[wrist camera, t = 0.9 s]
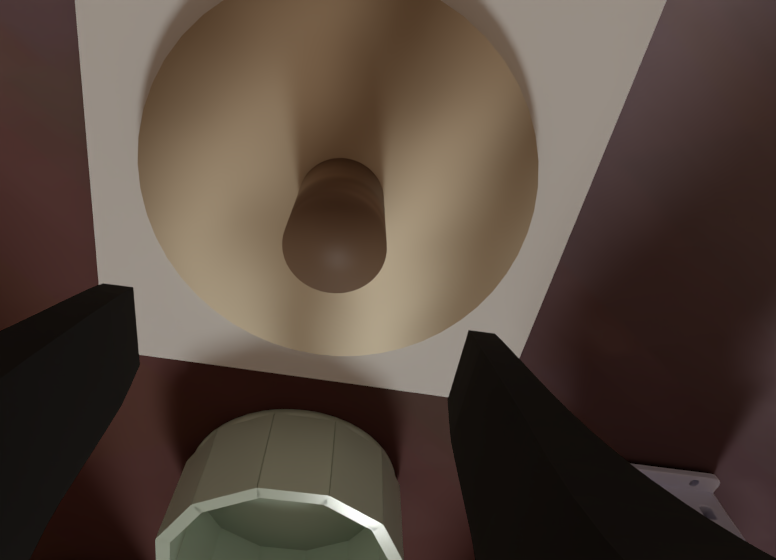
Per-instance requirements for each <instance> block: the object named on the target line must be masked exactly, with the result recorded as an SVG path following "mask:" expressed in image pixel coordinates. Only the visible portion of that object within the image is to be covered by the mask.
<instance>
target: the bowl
mask: <svg viewBox="0 0 776 560" xmlns="http://www.w3.org/2000/svg"><path fill="white" fill-rule="evenodd" d="M155 544H156V560H404V556H403V538H402V520H401V502H400V485H399V483H398V481H397V479H396V477H395V472H394V468H393V465H392V463H391V460H390V459H389V457H388V455H387V453H386V452H385V451H384V449H383V448H382V447H381V446H380V444H379V443H378V442H377V441H375V440H374V439H373V438H372V437H371V436H370V435H369V434H367V433H366V432H364V431H363V430H361V429H360V428H358V427H356V426H355V425H353V424H351V423H349V422H347V421H344V420H342V419H339V418H337V417H334V416H330V415H327V414H323V413H319V412H314V411H308V410H298V409H274V410H266V411H259V412H255V413H250V414H247V415H244V416H241V417H238V418H235V419H233V420H231V421H229V422H227V423H225V424H223V425H221V426H220V427H218V428H217V429H215V430H214V431H212V432H211V433H210V434H209V435H208V436H207V437H206V438H205V439H204V440H203V441H202V442H201V444H200V445H199V446H198V448H197V449H196V451H195V453H194V454H193V455H192V456H191V457H190V458H189V459H188V460H187V462H186V464H185V467H184V469H183V472H182V474H181V477H180V479H179V482H178V484H177V487H176V489H175V492H174V494H173V497H172V499H171V502H170V504H169V507H168V509H167V512H166V514H165V517H164V519H163V522H162V524H161V527H160V529H159V532H158V534H157V537H156V539H155Z"/></svg>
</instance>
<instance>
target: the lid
mask: <svg viewBox="0 0 776 560" xmlns="http://www.w3.org/2000/svg"><path fill="white" fill-rule="evenodd" d="M538 163H539V161H538V152H537V143H536V135H535V131H534V127H533V124H532V120H531V116H530V112H529V109H528V106H527V104H526V101H525V99H524V97H523V94H522V92H521V89H520V87H519V85H518V83H517V81H516V79H515V78H514V76H513V74H512V73H511V71H510V69H509V67H508V66H507V64H506V62H505V61H504V59H503V58H502V57H501V55H500V54H499V53H498V52H497V50H496V49H495V48H494V47H493V45H492V44H491V43H490V42H489V40H488V39H487V38H486V37H485V36H484V35H483V34H482V33H481V32H480V31H479V30H478V29H477V28H476V27H475V26H473V25H472V24H471V23H470V22H469V21H468V20H467V19H466V18H465V17H464V16H463V15H461V14H460V13H458V12H457V11H455V10H454V9H452V8H451V7H450V6H448V5H447V4H445V3H444V2H442V1H441V0H223V1H222V2H220V3H219V4H217V5H216V6H215V7H213V8H212V9H210V10H209V11H208V12H206V13H205V14H203V15H202V16H201V17H200V18H199V19H198V20H197V21H196V22H195V23H194V24H193V25H192V26H191V27H190V28H189V29H188V30H187V31H186V32H185V33H184V34H183V35H182V36H181V38H180V39H179V40H178V42H177V43H176V44H175V46H174V47H173V48H172V50H171V51H170V52H169V54H168V55H167V57H166V58H165V60H164V61H163V63H162V65H161V67H160V69H159V71H158V73H157V75H156V77H155V79H154V81H153V83H152V85H151V88H150V91H149V94H148V97H147V100H146V103H145V106H144V109H143V113H142V119H141V125H140V130H139V136H138V172H139V181H140V189H141V193H142V197H143V201H144V205H145V209H146V213H147V216H148V218H149V221H150V224H151V226H152V229H153V231H154V234H155V236H156V238H157V240H158V242H159V244H160V246H161V247H162V249H163V251H164V253H165V255H166V257H167V258H168V260H169V261H170V263H171V264H172V265H173V267H174V268H175V270H176V271H177V272H178V274H179V275H180V277H181V278H182V279H183V280H184V281H185V282H186V284H187V285H188V286H189V287H190V288H191V289H192V290H193V291H194V292H195V294H196V295H197V296H199V297H200V298H201V299H202V300H203V301H204V302H205V303H206V304H208V305H209V306H210V307H211V308H212V309H213V310H214V311H216V312H217V313H219V314H220V315H221V316H223V317H224V318H226V319H227V320H228V321H230V322H231V323H233V324H234V325H236V326H238V327H240V328H242V329H243V330H245V331H247V332H249V333H251V334H252V335H255V336H257V337H259V338H262V339H264V340H266V341H269V342H271V343H274V344H277V345H280V346H283V347H287V348H290V349H293V350H297V351H303V352H308V353H313V354H320V355H331V356H362V355H370V354H378V353H384V352H388V351H393V350H397V349H401V348H404V347H407V346H410V345H413V344H416V343H419V342H422V341H424V340H426V339H428V338H430V337H432V336H434V335H437V334H439V333H441V332H443V331H444V330H446V329H447V328H449V327H451V326H452V325H454V324H455V323H457V322H459V321H460V320H461V319H463V318H464V317H465V316H467V315H468V314H469V313H470V312H472V311H473V310H474V309H475V308H477V307H478V306H479V305H480V304H481V303H482V302H483V301H484V300H485V299H486V298H487V297H488V296H489V295H490V294H491V293H492V292H493V290H494V289H495V288H496V287H497V285H498V284H499V283H500V282H501V280H502V279H503V278H504V276H505V275H506V274H507V272H508V271H509V269H510V267H511V266H512V264H513V262H514V261H515V259H516V257H517V256H518V254H519V251H520V249H521V247H522V245H523V242H524V240H525V238H526V236H527V233H528V230H529V227H530V223H531V220H532V216H533V213H534V209H535V203H536V196H537V190H538Z"/></svg>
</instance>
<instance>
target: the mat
mask: <svg viewBox="0 0 776 560" xmlns="http://www.w3.org/2000/svg"><path fill="white" fill-rule="evenodd" d="M222 1H223V0H75V7H76V19H77V31H78V43H79V55H80V67H81V78H82V90H83V102H84V114H85V126H86V138H87V150H88V161H89V173H90V185H91V197H92V209H93V221H94V233H95V245H96V256H97V268H98V280H99V285H100V284H102V283H104V284H112V285H120V286H128V287H133V290H134V302H135V314H136V326H137V338H138V350H139V355H146V356H153V357H160V358H167V359H175V360H182V361H189V362H197V363H204V364H211V365H218V366H226V367H233V368H240V369H247V370H255V371H262V372H269V373H277V374H284V375H291V376H298V377H306V378H313V379H320V380H327V381H335V382H342V383H349V384H357V385H364V386H371V387H378V388H386V389H393V390H400V391H407V392H415V393H422V394H429V395H437V396H444V397H449V393H450V390H451V387H452V383H453V380H454V377H455V374H456V370H457V367H458V364H459V360H460V357H461V354H462V350H463V347H464V344H465V340H466V337H467V334H468V330H471V331H479V332H487V333H495V334H496V335H497V336H498V337H499V338H500V339H501V340H502V341H503V342H504V343H505V344H506V345H507V346H508V347H509V348H510V349H511V350H512V352H513V353H514V354H515V355H516V356H517V357H518V358H520V355H521V353H522V351H523V348H524V346H525V343H526V341H527V338H528V336H529V333H530V331H531V329H532V326H533V324H534V321H535V319H536V316H537V314H538V312H539V309H540V307H541V304H542V302H543V299H544V297H545V295H546V292H547V290H548V287H549V285H550V282H551V280H552V278H553V275H554V273H555V270H556V268H557V265H558V263H559V261H560V258H561V256H562V253H563V251H564V248H565V246H566V244H567V241H568V239H569V236H570V234H571V231H572V229H573V227H574V224H575V222H576V219H577V217H578V214H579V212H580V210H581V207H582V205H583V202H584V200H585V197H586V195H587V192H588V190H589V188H590V185H591V183H592V180H593V178H594V175H595V173H596V171H597V168H598V166H599V163H600V161H601V158H602V156H603V154H604V151H605V149H606V146H607V144H608V141H609V139H610V137H611V134H612V132H613V129H614V127H615V124H616V122H617V120H618V117H619V115H620V112H621V110H622V107H623V105H624V103H625V100H626V98H627V95H628V93H629V90H630V88H631V86H632V83H633V81H634V78H635V76H636V73H637V71H638V69H639V66H640V64H641V61H642V59H643V56H644V54H645V51H646V49H647V47H648V44H649V42H650V39H651V37H652V34H653V32H654V30H655V27H656V25H657V22H658V20H659V17H660V15H661V13H662V10H663V8H664V5H665V3H666V0H441V1H442V2H444V3H445V4H447V5H448V6H450V7H451V8H452V9H454V10H455V11H457V12H458V13H460V14H461V15H463V16H464V17H465V18H466V19H467V20H468V21H469V22H470V23H471V24H472V25H473V26H475V27H476V28H477V29H478V30H479V31H480V32H481V33H482V34H483V35H484V36H485V37H486V38H487V39H488V40H489V42H490V43H491V44H492V45H493V47H494V48H495V49H496V50H497V52H498V53H499V54H500V55H501V57H502V58H503V59H504V61H505V62H506V64H507V66H508V67H509V69H510V71H511V73H512V74H513V76H514V78H515V79H516V81H517V83H518V85H519V87H520V89H521V92H522V94H523V97H524V99H525V101H526V104H527V106H528V109H529V112H530V116H531V120H532V124H533V127H534V131H535V135H536V143H537V152H538V161H539V163H538V190H537V196H536V203H535V209H534V213H533V216H532V220H531V223H530V227H529V230H528V233H527V236H526V238H525V240H524V242H523V245H522V247H521V249H520V251H519V254H518V256H517V257H516V259H515V261H514V262H513V264H512V266H511V267H510V269H509V271H508V272H507V274H506V275H505V276H504V278H503V279H502V280H501V282H500V283H499V284H498V285H497V287H496V288H495V289H494V290H493V292H492V293H491V294H490V295H489V296H488V297H487V298H486V299H485V300H484V301H483V302H482V303H481V304H480V305H479V306H478V307H477V308H475V309H474V310H473V311H472V312H470V313H469V314H468V315H467V316H465V317H464V318H463V319H461V320H460V321H459V322H457V323H455V324H454V325H452V326H451V327H449V328H447V329H446V330H444V331H443V332H441V333H439V334H437V335H434V336H432V337H430V338H428V339H426V340H424V341H422V342H419V343H416V344H413V345H410V346H407V347H404V348H401V349H397V350H393V351H388V352H384V353H378V354H370V355H362V356H331V355H320V354H313V353H308V352H303V351H297V350H293V349H290V348H287V347H283V346H280V345H277V344H274V343H271V342H269V341H266V340H264V339H262V338H259V337H257V336H255V335H252V334H251V333H249V332H247V331H245V330H243V329H242V328H240V327H238V326H236V325H234V324H233V323H231V322H230V321H228V320H227V319H226V318H224V317H223V316H221V315H220V314H219V313H217V312H216V311H214V310H213V309H212V308H211V307H210V306H209V305H208V304H206V303H205V302H204V301H203V300H202V299H201V298H200V297H199V296H197V295H196V294H195V292H194V291H193V290H192V289H191V288H190V287H189V286H188V285H187V284H186V282H185V281H184V280H183V279H182V278H181V277H180V275H179V274H178V272H177V271H176V270H175V268H174V267H173V265H172V264H171V263H170V261H169V260H168V258H167V257H166V255H165V253H164V251H163V249H162V247H161V246H160V244H159V242H158V240H157V238H156V236H155V234H154V231H153V229H152V226H151V224H150V221H149V218H148V216H147V213H146V209H145V205H144V201H143V197H142V193H141V189H140V181H139V172H138V136H139V130H140V125H141V119H142V113H143V109H144V106H145V103H146V100H147V97H148V94H149V91H150V88H151V85H152V83H153V81H154V79H155V77H156V75H157V73H158V71H159V69H160V67H161V65H162V63H163V61H164V60H165V58H166V57H167V55H168V54H169V52H170V51H171V50H172V48H173V47H174V46H175V44H176V43H177V42H178V40H179V39H180V38H181V36H182V35H183V34H184V33H185V32H186V31H187V30H188V29H189V28H190V27H191V26H192V25H193V24H194V23H195V22H196V21H197V20H198V19H199V18H200V17H201V16H202V15H203V14H205V13H206V12H208V11H209V10H210V9H212V8H213V7H215V6H216V5H217V4H219V3H220V2H222Z"/></svg>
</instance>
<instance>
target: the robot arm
mask: <svg viewBox="0 0 776 560" xmlns="http://www.w3.org/2000/svg"><path fill="white" fill-rule="evenodd" d="M139 365H140V362H139V350H138V338H137V326H136V314H135V302H134V290H133V287H128V286H120V285H112V284H104V283H102V284H100V285H97V286H95V287H92V288H90V289H88V290H86V291H83V292H81V293H79V294H77V295H75V296H73V297H71V298H69V299H66V300H64V301H62V302H60V303H58V304H56V305H54V306H52V307H50V308H48V309H46V310H44V311H42V312H40V313H38V314H35V315H33V316H31V317H29V318H27V319H25V320H23V321H21V322H19V323H17V324H15V325H12V326H10V327H8V328H6V329H4V330H2V331H0V560H29V559H30V557H31V555H32V553H33V551H34V549H35V547H36V545H37V543H38V542H39V540H40V538H41V536H42V534H43V532H44V530H45V528H46V526H47V524H48V522H49V520H50V519H51V517H52V515H53V513H54V512H55V510H56V508H57V507H58V505H59V503H60V501H61V500H62V498H63V497H64V495H65V494H66V492H67V490H68V489H69V487H70V486H71V484H72V483H73V481H74V479H75V478H76V476H77V475H78V473H79V472H80V470H81V469H82V467H83V465H84V464H85V462H86V461H87V459H88V458H89V456H90V454H91V453H92V451H93V450H94V448H95V447H96V445H97V444H98V442H99V440H100V439H101V437H102V436H103V434H104V432H105V431H106V429H107V428H108V426H109V425H110V423H111V421H112V420H113V418H114V417H115V415H116V413H117V412H118V410H119V408H120V407H121V405H122V403H123V401H124V399H125V396H126V394H127V392H128V390H129V388H130V386H131V384H132V381H133V379H134V377H135V374H136V372H137V370H138V367H139ZM448 411H449V424H450V435H451V443H452V448H453V453H454V458H455V462H456V467H457V472H458V477H459V481H460V486H461V490H462V495H463V500H464V504H465V509H466V513H467V518H468V523H469V527H470V532H471V537H472V543H473V548H474V554H475V560H776V558H774V557H772V556H771V555H769V554H767V553H765V552H763V551H761V550H760V549H758V548H756V547H754V546H753V545H751V544H749V543H748V542H746V540H745V539H744V538H743V536H742V535H741V533H740V532H739V530H738V529H737V527H736V526H735V524H734V523H733V522H732V520H731V519H730V517H729V516H728V514H727V513H726V511H725V510H724V509H723V507H722V506H721V504H720V503H719V501H718V500H717V498H716V497H715V495H714V494H713V493H714V491H715V490H716V489H717V487H718V486H719V484H720V481H719V479H718V478H717V477H716V476H715V475H714V474H710V473H702V472H694V471H686V470H678V469H670V468H662V467H655V466H647V465H639V464H631V463H629V462H628V461H626V460H625V459H624V458H623V457H622V456H620V455H619V454H618V453H617V452H615V451H614V450H613V449H612V448H610V447H609V446H608V445H607V444H606V443H604V442H603V441H602V440H601V439H600V438H598V437H597V436H596V435H595V434H594V433H593V432H592V431H590V430H589V429H588V428H587V427H586V426H585V425H584V424H583V423H582V422H581V421H580V420H579V419H578V418H576V417H575V416H574V415H573V414H572V413H571V412H570V411H569V410H568V409H567V408H566V407H565V406H564V405H563V404H562V403H561V402H560V401H559V400H558V399H557V398H556V397H555V396H554V395H553V394H552V393H551V392H550V391H549V390H548V389H547V388H546V387H545V386H544V385H543V384H542V383H541V382H540V381H539V380H538V379H537V378H536V376H535V375H534V374H533V373H532V372H531V371H530V370H529V369H528V368H527V367H526V366H525V365H524V364H523V362H522V361H521V360H520V359H519V358H518V357H517V356H516V355H515V354H514V353H513V352H512V350H511V349H510V348H509V347H508V346H507V345H506V344H505V343H504V342H503V341H502V340H501V339H500V338H499V337H498V336H497V335H496V334H495V333H487V332H479V331H471V330H468V334H467V337H466V340H465V344H464V347H463V350H462V354H461V357H460V360H459V364H458V367H457V370H456V374H455V377H454V380H453V383H452V387H451V390H450V393H449V397H448Z"/></svg>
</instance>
